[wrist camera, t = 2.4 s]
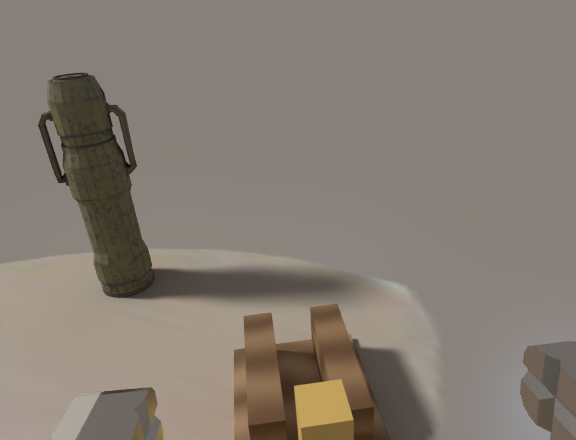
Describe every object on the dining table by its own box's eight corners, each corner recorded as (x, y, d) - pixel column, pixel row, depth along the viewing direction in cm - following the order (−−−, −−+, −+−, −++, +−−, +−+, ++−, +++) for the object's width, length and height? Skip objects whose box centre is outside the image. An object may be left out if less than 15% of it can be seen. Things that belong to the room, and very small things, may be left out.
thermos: (167, 285, 74) (117, 73, 58) (94, 306, 70) (20, 84, 54) (159, 261, 81) (113, 67, 66) (92, 279, 77) (26, 77, 62)
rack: (395, 460, 43) (398, 412, 40) (235, 486, 42) (226, 438, 39) (350, 338, 59) (350, 297, 56) (234, 354, 58) (227, 313, 55)
